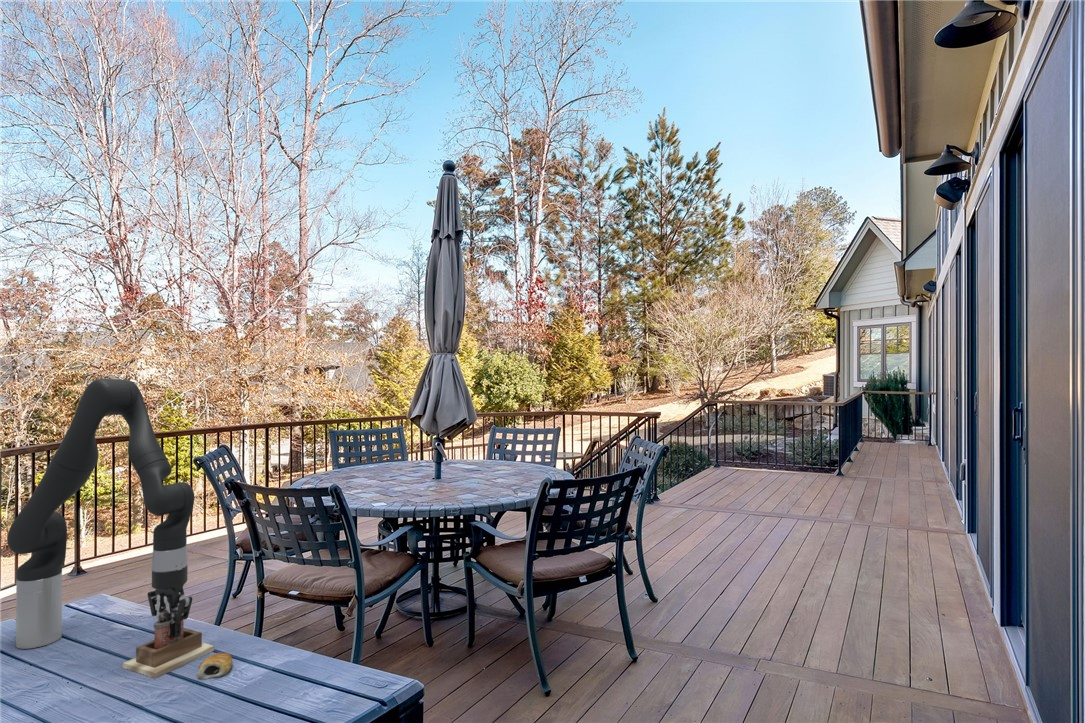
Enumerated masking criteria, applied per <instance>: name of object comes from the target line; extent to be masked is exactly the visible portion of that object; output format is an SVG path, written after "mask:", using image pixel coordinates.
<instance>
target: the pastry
mask: <svg viewBox="0 0 1085 723" xmlns="http://www.w3.org/2000/svg"><path fill="white" fill-rule="evenodd" d="M232 665H233V657H232V655H231V654H230V653H229V652H216V653H214V654H211V655H209V656H207V657H206V658H204V659H203V661H202V662H201V663H200V664H199V667H198V671H197V673H196V676H197V678H198V679H199V680H207V679H213V678H219V677H223V676H225V675H227V674H228V673H229V672H230V670H232Z"/></svg>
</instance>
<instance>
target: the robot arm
mask: <svg viewBox="0 0 1085 723" xmlns="http://www.w3.org/2000/svg"><path fill="white" fill-rule="evenodd" d="M113 415H114V416H121V417H122V418H123V419H124V420H125V423H126V424H127V426H128V428H129V438H128V439H129V441H128V445H127V452H128V457H129V461H130V463H131V465H132V467H133V469H134V470H135V472H136V474H137V476H138V478H139V480H140V486H141V491H142V499H143V504H144V507H145V509H146V510H147V511H148V512H149V513H150V514H152V515H153V516H156V517H157V516H158V517H159V516H166V515H167V517H166V519H165V520H163V522H161V523H158V524H157V525H156V526H155V527H154V529H153V532H152V533H153V535H152V538H153V539H152V540H153V541H152V554H151V588H152V589H154V590H151V591H148V592H147V599H148V604H149V608H150V609H149V610H150V614H151V616H152V617H155V618H156V620H157V621H158V620H160V619H159V613H161V612H163V610H164V609H165V608H166V610H167V614H169V616H170V622H171V623H170V638H172V639H174V638H176V637H179V636H180V634H181V621H182V620H184V621H185V620H187V619H188V618H189V614H190V611H191V606H192V602H193V597H192V596H186V595H185V591H184V587H185V584H187V582H188V569H189V568H188V564H189V563H188V554H189V553H188V549H187V547H188V546H187V545H188V544H187V535H188V534H187V529H188V525H189V522H190V519H191V515H192V511H193V508H194V505H195V491H194V489H193V487H192V486H191V485H190V484H189V483H187V482H183V481H180V482H179V481H178V482H175V483H169V484H165V485H164V483H163V481H164V480H166V479H167V478H168V477H170V475H171V473H172V472H173V469H172V465H171V463H170V461H169V459H168V458H167V456H166V454H165V452H164V451H163V449H162V447H161V445H160V443H159V440H158V439H157V436H156V435H155V432H154V428H153V426H152V423H151V419H150V415H149V413H148V409H147V407H146V404H145V400H144V397H143V395H142V393H141V390H140V388H139V387H138V385H137V384H136V383H135V382H134V381H132V380H130V379H121V378H120V379H119V378H97V379H95V380H93V381H91V382H90V383H89V384H88V385H87V386H86V387H85V389H84V392H83V393H82V395H81V397H80V400H79V402H78V405H77V407H76V410H75V412H74V415H73V417H72V420H71V422H70V425H69V427H68V429H67V431H66V433H65V434H64V437H63V439H62V440H61V442H60V444H59V446H58V448H57V450H56V451H55V453H54V455H53V456H52V458H51V460H50V462H49V464H48V466H47V468H46V469H45V472H44V474H43V476H42V477H41V479H40V481H39V482H38V484H37V486H36V488H35V490H34V491H33V493H32V495H30V496H31V497H30V498H29V499H28V501H27V502H26V503H25V505H24V507H23V508H22V510H21V511H20V512H19V513H18V515H17V516H16V518H15V519H14V520H13V522H12V524H11V526H10V527H9V530H8V532H7V539H6V540H7V541H6V542H7V546H8V549H10V551H11V552H13V553H15V554H19V555H25V554H31V553H33V554H32V555H31V557H29V559H28V560H26V561H25V562H24V563H22V564H20V566H19V567H18V568H17V569H16V573H15V574H16V578H15V579H16V583H15V584H16V587H15V588H16V590H15V591H16V592H15V593H16V596H15V597H16V600H15V601H16V602H15V603H16V606H15V646H16V648H17V649H21V650H22V649H24V650H25V649H26V650H27V649H34V648H40V647H44V646H47V645H50V644H53V643H54V642H57V641H59V640H60V639H61V638H62V633H63V632H62V631H63V628H62V626H63V625H62V624H63V616H62V615H63V565H64V563H65V560H66V557H67V556H66V554H67V544H68V541H67V540H68V526H67V522H66V519H65V517H64V516H63V515H62V514H61V513H59V512H57V511H56V510H58V509H59V508H60V506H62V505H63V504H64V503H65V502H67V501H68V500H69V499H70V498H72V497H73V495H75V494H76V493H77V492H78V491H79V490H80V489H81V488H82V487H83V486H85V484H86V483H87V481H88V480H89V478H90V477H91V475H92V473H93V472H94V470H95V468H96V466H97V464H98V461H99V448H98V444H97V440H96V433H97V430H98V428H99V425H100V424H101V422H102V420H103V419H104V418H105V417H106V416H113ZM177 606H178V607H177ZM174 607H177V608H176V609H173V610H172V608H174ZM175 612H177V614H176V617H175V615H174V613H175ZM183 613H184V614H183Z"/></svg>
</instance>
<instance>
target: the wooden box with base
mask: <svg viewBox="0 0 1085 723" xmlns="http://www.w3.org/2000/svg"><path fill="white" fill-rule="evenodd" d="M135 649H136V651H135V657H134V658H131V659H129V660H127V661H124V662H122V669H125V670H127V669H128V670H127V671H131V672H134V671H135V672H134V673H137V672H138V673H137V674H140V673H141V675H143V674H144V675H143V676H146V675H147V677H150V678H153V679H157V678H159V677H161V676H163V675H165V674H168V673H169V672H172V671H174V670H175V669H178V668H180V667H182V666H184V665H186V664H187V665H188V664H189V663H192V662H193V661H195V660H197V659H199V658H202V657H204V656H205V655H209V654H210V653H212V652H214V651H215V645H212V644H209V643H205V642H203V633H202V631H201V632H200V631H197V630H193V629H189V628H185V627H183V639H181V640H178V641H176V642H174V643H171V644H169V645H167V646H164V647H162V648H160V649H157V650H156V649H155V639H154V640H151V641H148V642H146V643H144V644H141V645H139V646H136V648H135ZM173 669H174V670H173Z"/></svg>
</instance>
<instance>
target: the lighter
mask: <svg viewBox="0 0 1085 723" xmlns="http://www.w3.org/2000/svg"><path fill="white" fill-rule="evenodd" d="M177 607H178V606H177ZM177 607H174V608H172V610H173V609H176V608H177ZM176 614H177V612H175V613H174V615H175V617H176ZM183 614H184V613H183ZM159 619H160V620H157V621H155V622H154V623H153V629H154V640H155V649H156V650H157V649H160V648H162V647H164V646H167V645H169V644H171V643H174V642H176V641H178V640H181V639H183V628H184V622H185V620H182V621H181V634H180V636H179V637H176V638H174V639H172V638H170V623H171V622H170V616H169V614H167V610H166V608H165V609H164V610H163V612H161V613H159Z"/></svg>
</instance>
